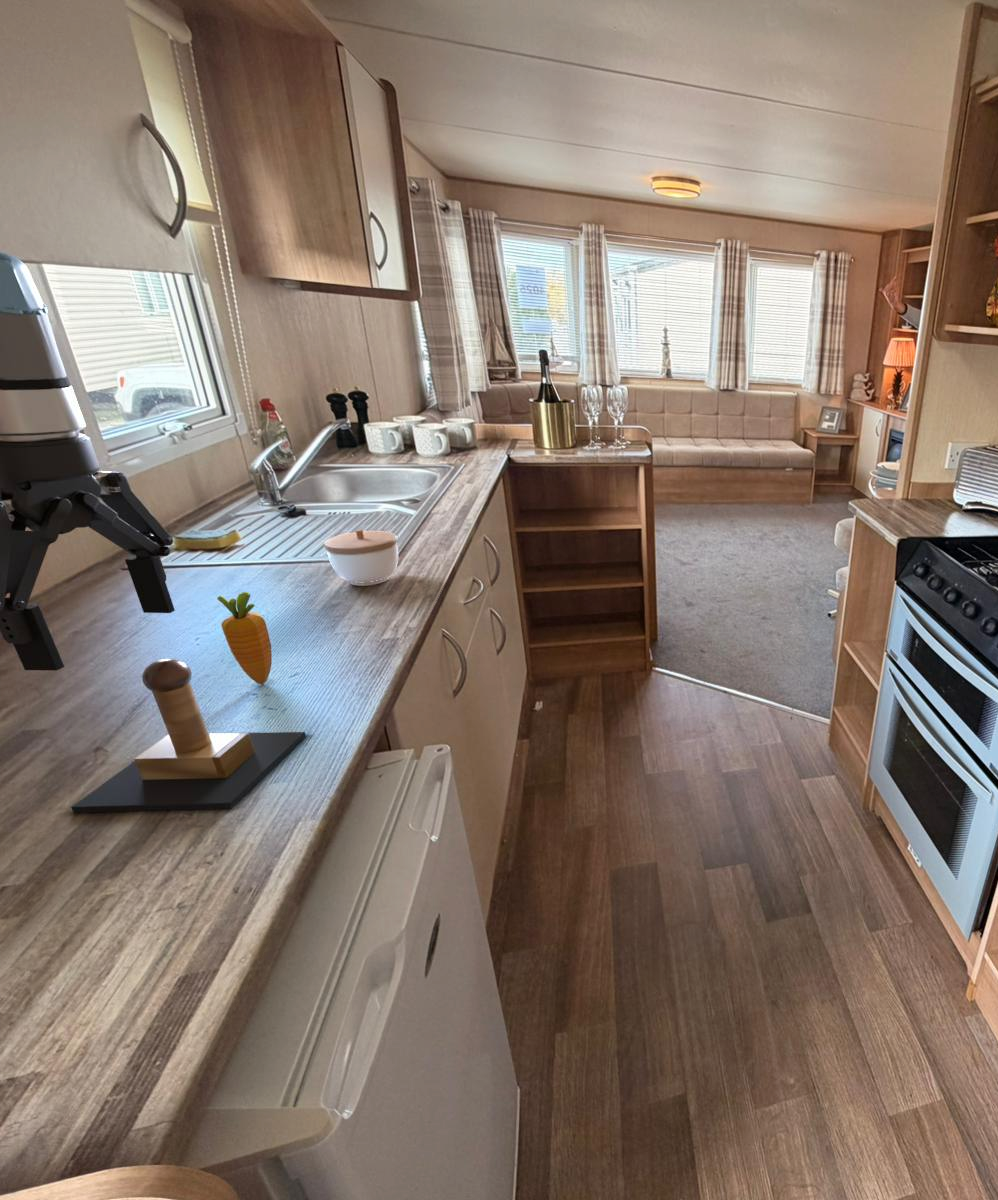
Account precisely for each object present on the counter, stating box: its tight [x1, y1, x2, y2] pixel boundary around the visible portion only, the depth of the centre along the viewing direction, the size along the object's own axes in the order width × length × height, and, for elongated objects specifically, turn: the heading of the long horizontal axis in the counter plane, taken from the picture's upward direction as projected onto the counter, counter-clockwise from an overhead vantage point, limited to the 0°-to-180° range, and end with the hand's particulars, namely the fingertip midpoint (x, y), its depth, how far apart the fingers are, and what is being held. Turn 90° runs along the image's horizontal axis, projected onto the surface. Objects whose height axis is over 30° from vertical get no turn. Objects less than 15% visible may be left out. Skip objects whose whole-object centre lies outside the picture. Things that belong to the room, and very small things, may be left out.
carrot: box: [216, 591, 273, 686], centre depth 93 cm, size 5×5×15 cm
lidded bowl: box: [323, 529, 399, 587], centre depth 134 cm, size 13×13×11 cm
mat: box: [70, 731, 307, 814], centre depth 77 cm, size 16×14×1 cm
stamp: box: [133, 658, 255, 780], centre depth 75 cm, size 9×5×14 cm, turn 96°
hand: (107, 637), depth 67 cm, fingers open, 13 cm apart
